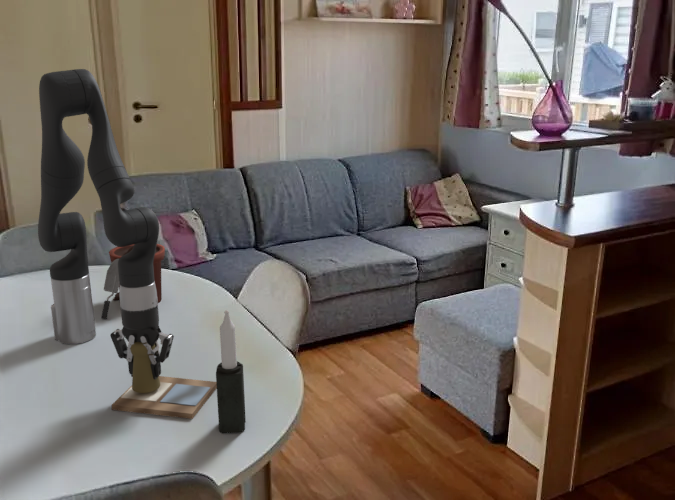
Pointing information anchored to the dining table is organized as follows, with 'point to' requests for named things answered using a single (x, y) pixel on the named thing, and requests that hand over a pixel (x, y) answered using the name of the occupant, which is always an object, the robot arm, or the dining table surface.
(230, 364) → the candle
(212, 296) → the dining table surface
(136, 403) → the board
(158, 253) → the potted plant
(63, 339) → the robot arm
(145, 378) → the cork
